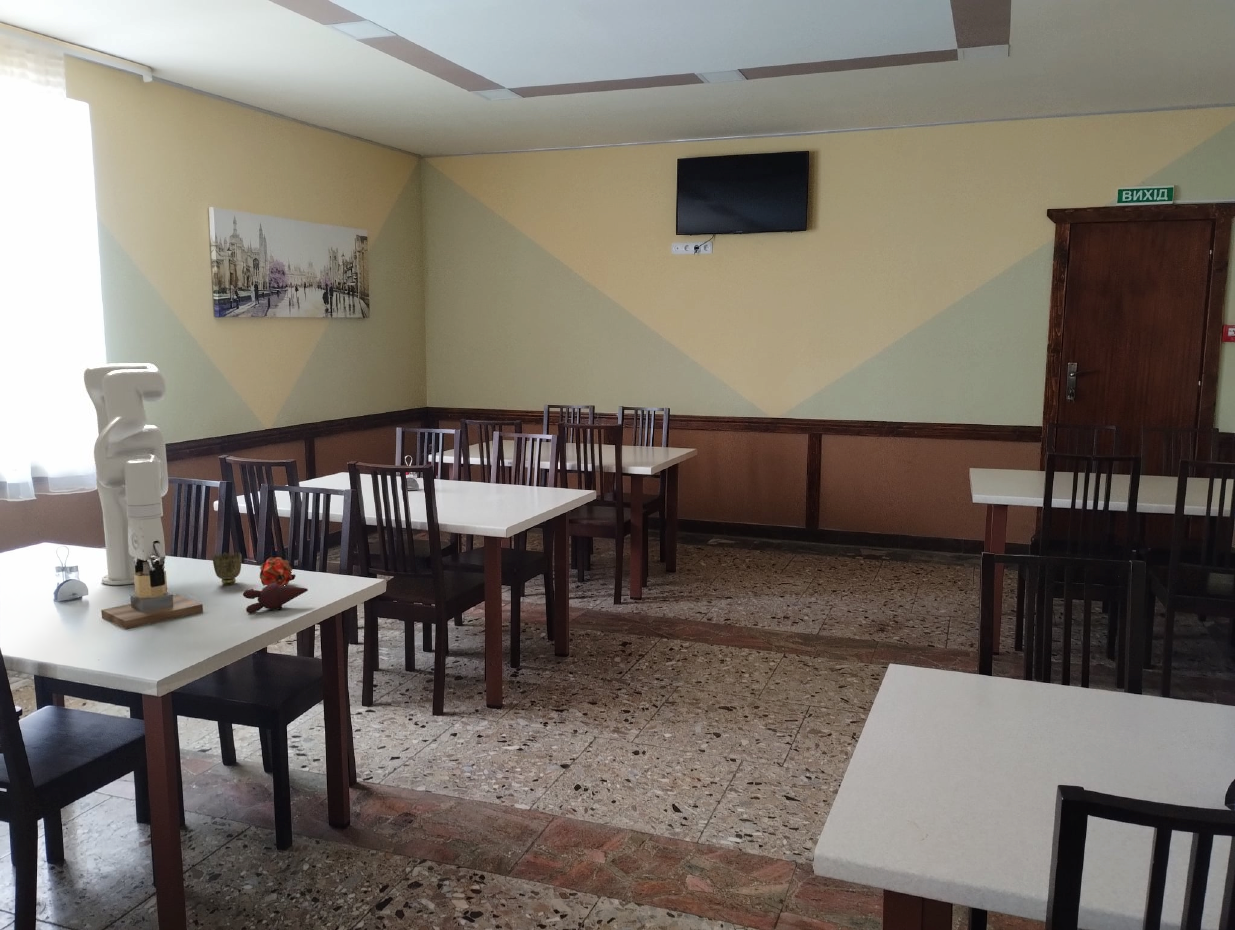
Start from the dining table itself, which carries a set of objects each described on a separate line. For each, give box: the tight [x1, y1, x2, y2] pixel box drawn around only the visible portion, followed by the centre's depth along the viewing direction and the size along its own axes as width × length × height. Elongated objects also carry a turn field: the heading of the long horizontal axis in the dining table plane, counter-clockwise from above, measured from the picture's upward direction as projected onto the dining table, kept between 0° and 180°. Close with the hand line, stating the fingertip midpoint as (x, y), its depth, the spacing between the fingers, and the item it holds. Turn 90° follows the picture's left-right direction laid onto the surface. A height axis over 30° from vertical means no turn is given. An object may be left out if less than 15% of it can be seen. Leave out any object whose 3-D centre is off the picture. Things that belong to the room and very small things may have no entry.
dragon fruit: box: [259, 557, 296, 587], centre depth 254 cm, size 8×8×12 cm
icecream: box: [242, 582, 309, 614], centre depth 233 cm, size 7×7×15 cm
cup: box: [211, 552, 243, 586], centre depth 257 cm, size 8×7×8 cm
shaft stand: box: [100, 560, 204, 630], centre depth 228 cm, size 14×18×13 cm
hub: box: [133, 569, 169, 599], centre depth 228 cm, size 6×6×6 cm
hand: (150, 582), depth 228 cm, fingers open, 7 cm apart
